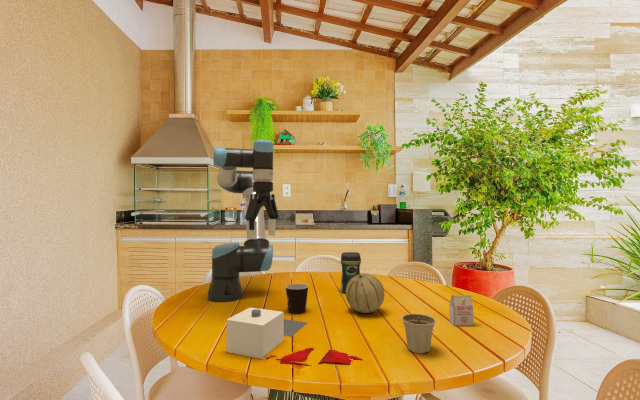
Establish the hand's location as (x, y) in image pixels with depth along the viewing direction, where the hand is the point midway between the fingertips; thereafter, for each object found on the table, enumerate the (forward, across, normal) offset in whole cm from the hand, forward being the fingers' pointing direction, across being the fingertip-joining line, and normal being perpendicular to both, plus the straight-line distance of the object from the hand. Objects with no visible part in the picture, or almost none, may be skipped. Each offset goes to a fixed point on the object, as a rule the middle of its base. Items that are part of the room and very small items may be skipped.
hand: (262, 237), depth 128 cm
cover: (+28, -27, -14) cm, 42 cm away
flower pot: (+28, -11, -58) cm, 66 cm away
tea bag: (+29, +15, -70) cm, 77 cm away
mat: (+28, -12, -14) cm, 34 cm away
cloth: (+29, -27, -33) cm, 51 cm away
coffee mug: (+29, +6, -12) cm, 32 cm away
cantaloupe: (+29, +15, -36) cm, 48 cm away
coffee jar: (+29, +41, -23) cm, 55 cm away
